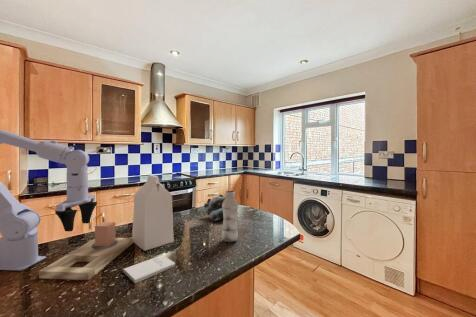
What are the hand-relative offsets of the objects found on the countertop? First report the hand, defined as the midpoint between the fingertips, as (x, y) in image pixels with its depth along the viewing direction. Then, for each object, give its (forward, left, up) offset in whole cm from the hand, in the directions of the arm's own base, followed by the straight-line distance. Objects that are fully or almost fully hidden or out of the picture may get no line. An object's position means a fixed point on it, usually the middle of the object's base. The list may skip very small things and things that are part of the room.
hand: (77, 226), depth 74 cm
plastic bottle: (+50, +16, -10) cm, 53 cm away
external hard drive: (+27, -6, -11) cm, 30 cm away
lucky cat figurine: (+43, +44, -10) cm, 62 cm away
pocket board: (+6, -1, -10) cm, 12 cm away
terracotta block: (+6, +5, -8) cm, 11 cm away
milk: (+20, +14, -10) cm, 26 cm away
